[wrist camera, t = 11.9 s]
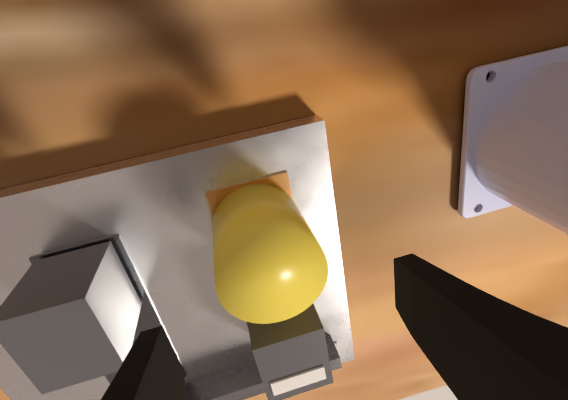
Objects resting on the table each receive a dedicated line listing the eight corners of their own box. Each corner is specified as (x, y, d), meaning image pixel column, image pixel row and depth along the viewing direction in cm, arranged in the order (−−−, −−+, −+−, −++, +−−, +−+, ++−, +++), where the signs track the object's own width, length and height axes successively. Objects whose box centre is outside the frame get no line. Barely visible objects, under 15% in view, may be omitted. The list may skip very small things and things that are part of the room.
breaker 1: (110, 240, 14) (84, 297, 11) (141, 303, 16) (126, 368, 12) (34, 260, 14) (-15, 325, 11) (74, 322, 15) (41, 394, 12)
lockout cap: (309, 242, 16) (339, 297, 13) (232, 273, 16) (241, 339, 13) (284, 170, 15) (311, 211, 11) (196, 204, 14) (194, 258, 11)
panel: (315, 114, 15) (338, 129, 13) (347, 343, 22) (365, 382, 20) (-112, 216, 13) (-185, 256, 11) (67, 433, 20) (48, 488, 18)
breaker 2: (301, 275, 17) (324, 330, 14) (311, 325, 18) (333, 384, 15) (242, 292, 17) (252, 352, 13) (257, 341, 18) (269, 405, 15)
